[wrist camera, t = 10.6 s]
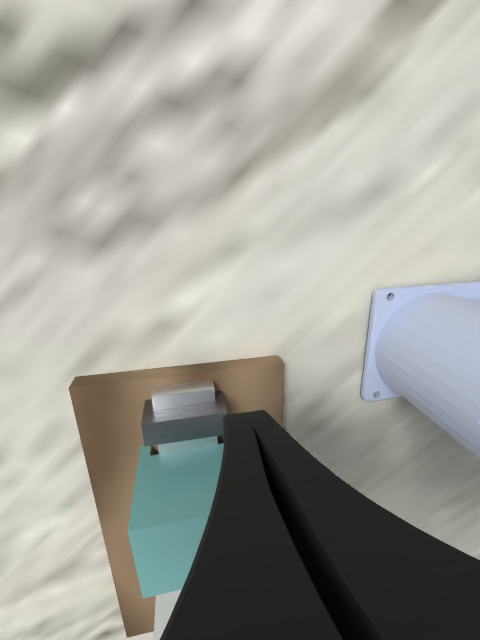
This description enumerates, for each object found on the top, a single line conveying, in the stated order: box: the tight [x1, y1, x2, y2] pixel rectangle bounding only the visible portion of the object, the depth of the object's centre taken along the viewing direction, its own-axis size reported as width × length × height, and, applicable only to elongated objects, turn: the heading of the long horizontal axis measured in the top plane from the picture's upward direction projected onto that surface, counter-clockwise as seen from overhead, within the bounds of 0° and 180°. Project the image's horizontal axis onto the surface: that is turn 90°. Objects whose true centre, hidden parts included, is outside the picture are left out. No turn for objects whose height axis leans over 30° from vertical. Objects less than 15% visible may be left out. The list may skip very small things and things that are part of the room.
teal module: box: [128, 443, 224, 599], centre depth 18 cm, size 6×4×6 cm
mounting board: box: [69, 356, 284, 637], centre depth 22 cm, size 12×22×1 cm, turn 1°
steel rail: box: [141, 380, 227, 454], centre depth 21 cm, size 4×21×2 cm, turn 1°
